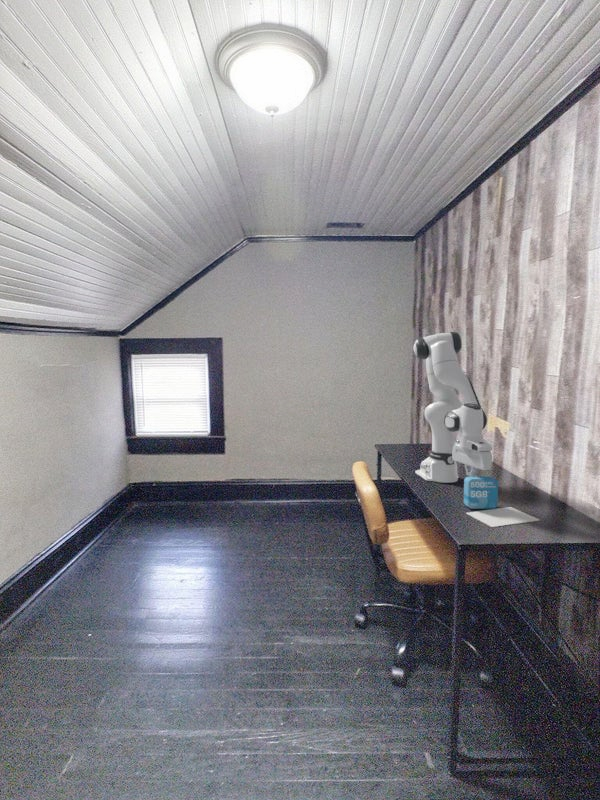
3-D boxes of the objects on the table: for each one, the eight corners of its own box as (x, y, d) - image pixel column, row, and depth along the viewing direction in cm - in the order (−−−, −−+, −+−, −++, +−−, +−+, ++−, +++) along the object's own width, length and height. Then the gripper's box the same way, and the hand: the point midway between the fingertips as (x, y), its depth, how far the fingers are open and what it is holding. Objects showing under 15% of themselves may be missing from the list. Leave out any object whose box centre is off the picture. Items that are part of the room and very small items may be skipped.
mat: (465, 513, 165) (465, 512, 165) (510, 507, 172) (510, 506, 172) (492, 527, 152) (492, 526, 152) (539, 520, 159) (539, 519, 159)
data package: (468, 509, 169) (468, 479, 169) (463, 505, 174) (463, 476, 173) (497, 508, 170) (498, 479, 169) (492, 505, 174) (492, 476, 174)
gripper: (448, 439, 184) (448, 470, 186) (482, 448, 165) (481, 483, 166) (461, 438, 186) (460, 469, 187) (495, 447, 167) (494, 481, 168)
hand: (470, 475), depth 177 cm, fingers closed
